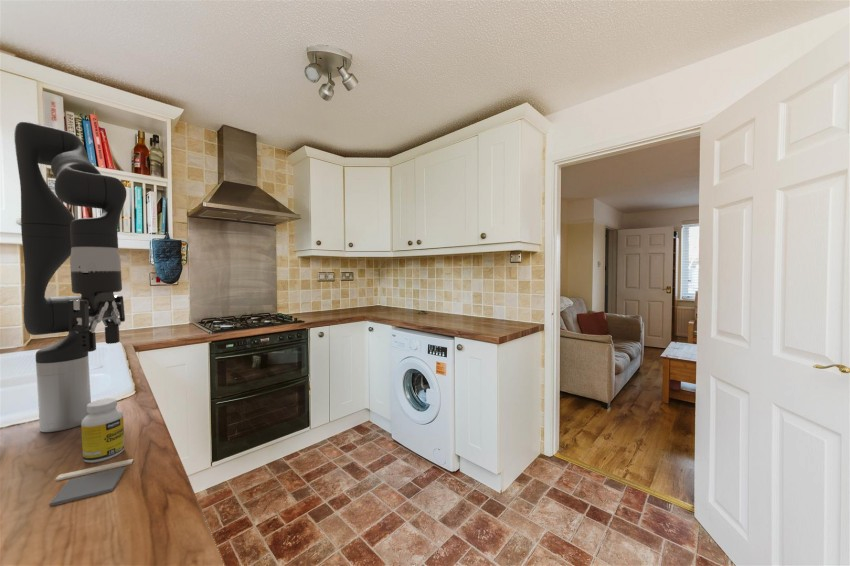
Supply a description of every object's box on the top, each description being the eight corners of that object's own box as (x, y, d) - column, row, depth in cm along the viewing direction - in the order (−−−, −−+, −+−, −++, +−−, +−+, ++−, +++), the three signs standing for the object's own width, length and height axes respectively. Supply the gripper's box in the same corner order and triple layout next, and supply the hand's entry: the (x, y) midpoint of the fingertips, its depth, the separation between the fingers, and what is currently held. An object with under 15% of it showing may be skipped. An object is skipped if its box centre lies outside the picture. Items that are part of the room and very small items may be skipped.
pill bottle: (98, 465, 68) (96, 409, 68) (74, 462, 69) (71, 407, 69) (132, 449, 75) (130, 397, 74) (109, 446, 76) (107, 395, 75)
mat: (69, 481, 63) (69, 479, 63) (125, 469, 67) (125, 466, 67) (49, 506, 56) (49, 503, 56) (112, 490, 60) (112, 488, 60)
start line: (59, 476, 65) (59, 474, 65) (133, 460, 70) (133, 458, 70) (55, 481, 63) (55, 478, 63) (131, 464, 69) (131, 462, 69)
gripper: (95, 271, 76) (99, 342, 76) (47, 269, 62) (52, 356, 62) (135, 270, 78) (139, 339, 78) (98, 268, 64) (103, 352, 65)
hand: (101, 347), depth 70 cm, fingers open, 8 cm apart
